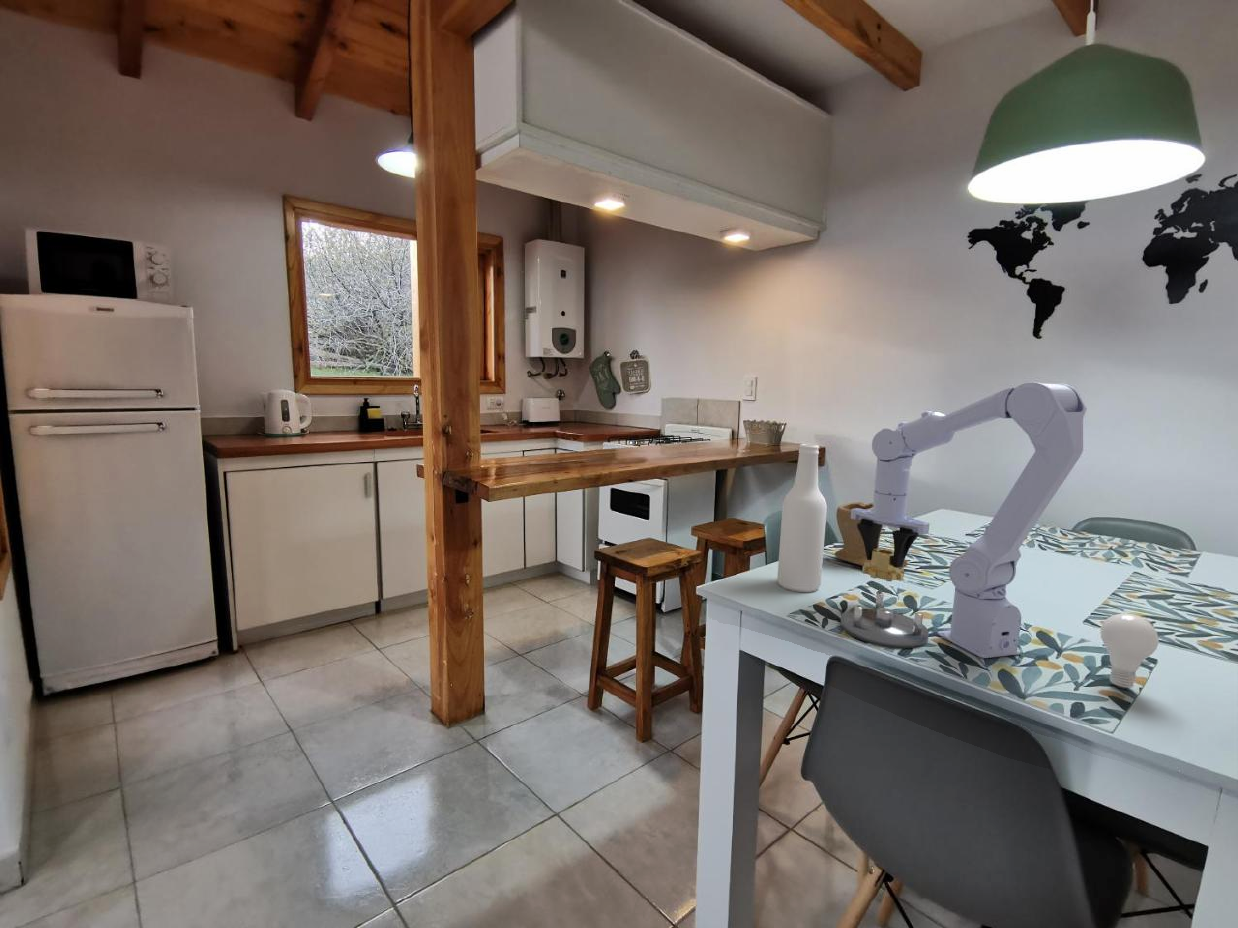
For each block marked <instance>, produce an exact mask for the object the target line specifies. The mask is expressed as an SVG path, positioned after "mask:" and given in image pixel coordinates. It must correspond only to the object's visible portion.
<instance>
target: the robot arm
mask: <svg viewBox="0 0 1238 928" xmlns="http://www.w3.org/2000/svg"><path fill="white" fill-rule="evenodd" d="M1086 412H1087V407H1086V405H1085V403H1084V401H1083V398H1082V397H1081V396H1080V394H1079V392H1078V391H1077V389H1076V388H1075V387H1073V386H1071V385H1069V384H1066V383H1060V382H1059V383H1055V382H1054V383H1041V382H1037V381H1030V382H1029V381H1028V382H1024V383H1022V384H1019V385H1018V386H1016V387H1014V386H1013V387H1008V388H1005V389H1002V390H1000V391H997V392H996V393H993V394H991V395H989V396H987V397H984V398H982V399H980V400H977V401H975V402H973V403H971V404H968V405H967V406H964V407H962V408H959V409H957V410H955V411H952V412H950V413H948V414H944V413H942V412H939V411H934V412H933V411H925V412H922V413H921V414H920V416H921V417H919V418H917V419H915V420H912V421H910V422H904V421H903V422H900V423H898V427H897V428H896V429H895V428H893V429H892V428H882V429H881V430H880V431H878V432H877V433H875V435H874V436H873V437H872V442H871V449H872V452H873V454H874V455H875V456H876V467H875V468H876V469H875V480H874V493H873V502H872V503H873V511H872V510H865V509H859V508H855V509H851V519H859V520H861V522H860V523H858V524H857V528H858V530H859V532H860V534H861V536H862V539H863V542H864V546H865V551H866V557H867V560H872V553H873V549H875V548H877V547H878V539H879V535H880V531H881V528H882V529H883V527H882V525H883V526H886V527H891V528H896V529H897V530H893V531H892V537H893V539H892V540H893V551H894V557H893V567H896V568H898V567H902V566H903V563H904V560H906V556H907V555H908V552H909V550H910V548H911V547H912V545H913V544H914V542H915V541H916V539H918V537H919V535H928V534H929V532H930V522H926V521H923V520H922V521H921V520H919V519H917V518H916V519H915V518H912V517H909V516H906V515H907V514H906V513H907V503H908V492H909V485H910V484H909V482H910V472H911V466H912V462H913V459H914V458H915V456H916V455H917V454H919V453H922V452H925V451H928V450H930V449H933V448H936V447H939V446H942V445H945V444H947V443H950V442H951V441H952V440H953V437H954V435H955V433H956V432H959V431H962V430H963V431H964V430H965V429H969V428H972V427H974V426H979V425H981V424H985V423H987V422H992V421H995V420H996V419H1000V418H1001V419H1013V421H1014V422H1015V423H1016V424H1017V425H1018V426H1019V427H1020V428H1021V429H1022V430H1023V432H1025V433H1026V435H1028V438H1029V440H1030V442H1031V444H1032V446H1033V448H1034V453H1033V454H1032V456H1031V457H1030V459H1029V461H1028V462H1027V464H1026V466H1025V467H1024V469H1023V470H1022V472H1021V473H1020V475H1019V477H1018V478H1017V480H1016V481H1015V483H1014V484H1013V486H1012V488H1011V489H1010V490H1009V493H1008V494H1007V496H1006V497H1005V499H1004V501H1003V502H1002V503H1001V505H1000V506H999V508H998V510H997V512H996V514H995V515H994V516H993V518H992V519H991V521H990V523H989V524H988V526H987V528H986V529H985V531H984V533H983V534H982V535H981V536H979V538H978V539H976V540H975V541H974V542H972V543H971V544H970V545H969V546H968V547H967V549H966V550H965V552H963V554H961V555H959V556H957V557H956V558H954V559H953V560H952V562H950V565H949V568H948V574H949V578H950V581H951V583H952V584H953V586H954V594H953V595H954V596H953V603H952V612H951V613H952V614H951V622H950V629H949V630H940V631H937V635H938V636H940V637H942V638H944V639H946V640H947V641H949V642H952V643H953V644H955V645H957V646H959V647H961V648H962V649H964V650H966V651H968V652H970V653H972V654H974V655H975V656H977V657H979V658H980V659H989V658H997V657H1005V656H1016V655H1020V654H1021V653H1022V651H1021V650H1020V649H1019V648H1018V647H1019V641H1020V640H1019V639H1020V631H1021V624H1022V614H1021V611H1020V609H1019V608H1018V607H1017V606H1015V605H1014V604H1012V603H1011V602H1010V601H1009V600H1008V598H1007V597H1006V596H1007V591H1006V590H1007V589H1006V588H1007V585H1009V584H1011V583H1012V582H1013V581H1014V579H1015V577H1016V573H1017V564H1018V562H1019V560H1020V558H1021V557H1022V553H1021V551H1020V548H1021V546H1022V544H1024V542H1025V540H1026V539H1027V537H1028V536H1029V534H1030V532H1031V531H1032V530H1033V528H1034V527H1035V525H1036V524H1037V522H1038V521H1039V519H1040V518H1041V516H1042V514H1043V513H1044V512H1045V510H1046V508H1047V507H1048V506H1049V505H1050V503H1051V501H1052V499H1053V498H1054V496H1055V495H1056V494H1057V493H1058V490H1059V489H1060V488H1061V486H1062V484H1063V483H1064V482H1065V480H1066V478H1068V476H1069V474H1070V473H1071V471H1072V470H1073V468H1074V466H1075V465H1076V464H1077V462H1078V461H1079V460H1080V457H1082V454H1083V451H1084V416H1085V415H1086ZM879 540H880V539H879Z"/></svg>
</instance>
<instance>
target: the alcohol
mask: <svg viewBox="0 0 1238 928" xmlns="http://www.w3.org/2000/svg"><path fill="white" fill-rule="evenodd" d="M798 447H799V449H798V458H797V459H798V460H797V466H796V473H795V480H794V484H793V486H792V489H790V490H789V492H788V493H787V494H786V495H785V496H784V498H783V499H784V500H783V502H782V508H781V509H782V510H781V511H782V512H781V521H780V522H781V523H780V537H779V538H780V539H779V551H778V552H779V553H778V566H777V578H776V579H777V583H778V584H779V586H780V587H781V588H784V589H785V590H788V591H792V592H796V593H797V592H798V593H813V592H816V591H818V590H819V588H820V586H821V585H822V583H821V582H822V571H823V559H824V550H825V549H824V548H825V547H824V546H825V537H826V536H825V535H826V525H827V524H826V523H827V522H826V521H827V511H828V507H827V501H826V499H825V496H824V495H823V494H822V492H821V491H820V488H819V487H820V486H819V454H820V451H819V449H820V446H819V445H818V444H814V443H813V444H812V443H811V444H810V443H801V444H799V445H798Z"/></svg>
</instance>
